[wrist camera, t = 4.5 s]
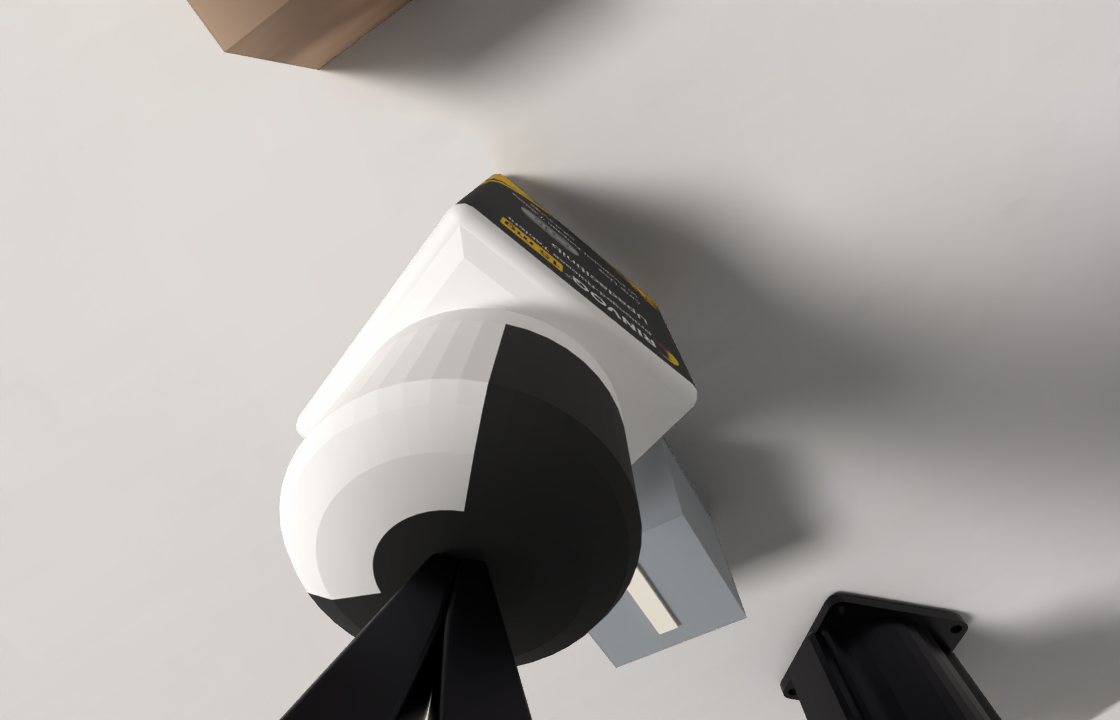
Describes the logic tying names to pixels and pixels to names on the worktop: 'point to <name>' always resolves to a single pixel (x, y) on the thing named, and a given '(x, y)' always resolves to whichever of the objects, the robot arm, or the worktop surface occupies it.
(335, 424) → the medicine bottle
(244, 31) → the walnut block two
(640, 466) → the slate block one
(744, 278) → the worktop surface
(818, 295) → the worktop surface
